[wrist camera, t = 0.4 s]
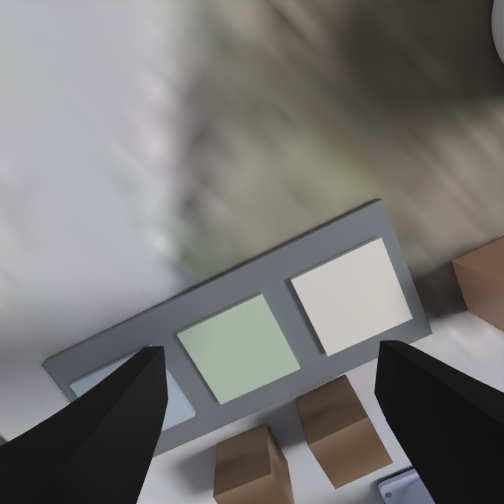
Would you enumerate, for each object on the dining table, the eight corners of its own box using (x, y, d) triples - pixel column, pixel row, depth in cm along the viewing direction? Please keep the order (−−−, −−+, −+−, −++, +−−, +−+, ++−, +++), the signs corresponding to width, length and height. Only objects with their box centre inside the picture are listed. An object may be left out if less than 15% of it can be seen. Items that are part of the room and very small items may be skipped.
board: (427, 329, 21) (436, 336, 20) (127, 462, 23) (122, 475, 22) (378, 198, 19) (385, 199, 18) (46, 358, 20) (37, 368, 19)
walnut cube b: (287, 460, 24) (296, 516, 20) (240, 479, 24) (240, 538, 20) (265, 422, 23) (271, 473, 19) (217, 442, 23) (213, 497, 19)
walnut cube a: (366, 413, 23) (393, 462, 19) (319, 436, 23) (335, 489, 19) (345, 373, 22) (367, 416, 18) (295, 398, 22) (307, 445, 18)
